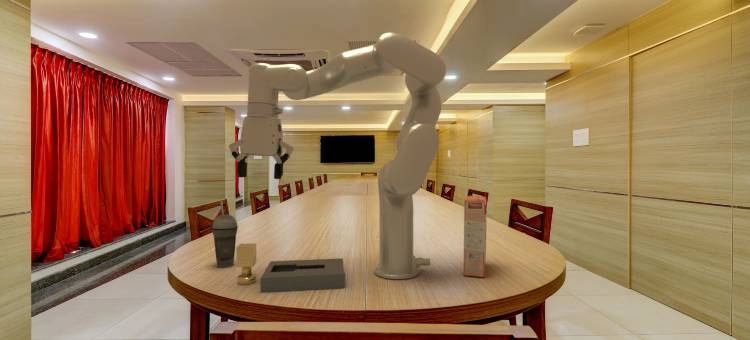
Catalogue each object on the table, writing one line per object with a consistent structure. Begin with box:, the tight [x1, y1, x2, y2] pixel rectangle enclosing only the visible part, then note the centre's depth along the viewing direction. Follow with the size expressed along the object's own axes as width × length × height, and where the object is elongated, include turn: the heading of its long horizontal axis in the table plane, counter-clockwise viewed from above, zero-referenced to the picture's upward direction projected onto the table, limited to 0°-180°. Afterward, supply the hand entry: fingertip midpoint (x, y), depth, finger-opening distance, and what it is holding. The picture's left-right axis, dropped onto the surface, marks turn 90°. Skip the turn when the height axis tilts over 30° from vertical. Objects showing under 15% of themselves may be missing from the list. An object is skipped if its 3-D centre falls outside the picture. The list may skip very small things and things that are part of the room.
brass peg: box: [235, 242, 257, 286], centre depth 86 cm, size 4×4×10 cm
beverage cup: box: [211, 199, 239, 269], centre depth 101 cm, size 7×7×20 cm
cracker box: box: [463, 195, 488, 279], centre depth 96 cm, size 14×6×21 cm, turn 161°
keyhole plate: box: [259, 258, 346, 293], centre depth 88 cm, size 20×14×4 cm
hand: (259, 178), depth 87 cm, fingers open, 9 cm apart
